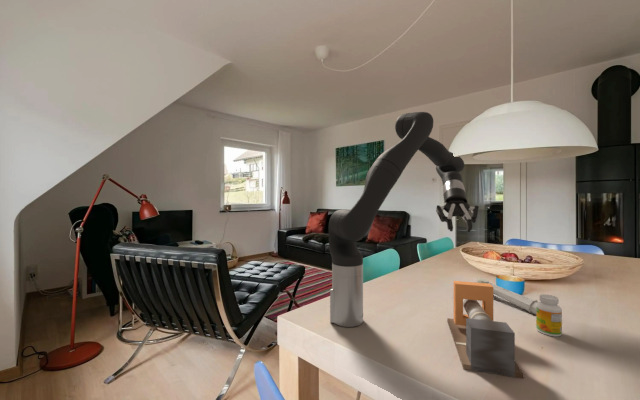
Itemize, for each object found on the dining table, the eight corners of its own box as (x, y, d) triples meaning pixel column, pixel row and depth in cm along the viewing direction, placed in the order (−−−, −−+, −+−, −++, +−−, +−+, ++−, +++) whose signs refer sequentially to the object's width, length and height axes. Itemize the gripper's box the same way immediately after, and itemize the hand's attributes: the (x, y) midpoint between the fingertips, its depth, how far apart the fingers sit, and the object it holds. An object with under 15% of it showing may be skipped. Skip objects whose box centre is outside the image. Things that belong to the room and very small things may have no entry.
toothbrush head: (540, 307, 84) (471, 274, 108) (537, 327, 85) (469, 291, 108) (552, 304, 86) (481, 273, 109) (548, 324, 87) (479, 289, 110)
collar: (455, 324, 75) (455, 283, 75) (453, 319, 78) (453, 280, 78) (493, 329, 72) (493, 286, 72) (490, 324, 75) (490, 283, 75)
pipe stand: (463, 368, 60) (463, 325, 60) (447, 321, 82) (447, 290, 82) (523, 378, 56) (523, 332, 56) (489, 326, 79) (489, 294, 79)
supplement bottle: (531, 327, 79) (531, 293, 79) (550, 327, 78) (551, 293, 78) (546, 337, 73) (546, 300, 73) (567, 337, 73) (567, 300, 73)
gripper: (434, 187, 103) (437, 222, 92) (477, 186, 99) (486, 223, 88) (433, 201, 108) (436, 236, 97) (474, 201, 104) (482, 237, 93)
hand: (460, 229), depth 92 cm, fingers open, 4 cm apart
